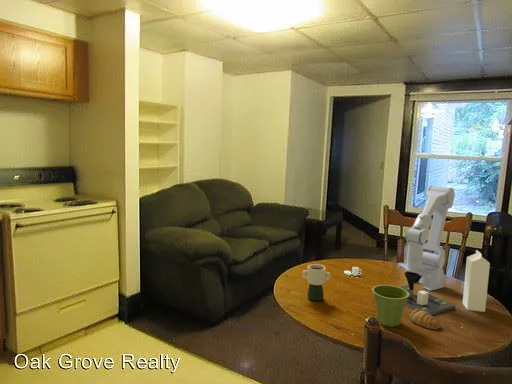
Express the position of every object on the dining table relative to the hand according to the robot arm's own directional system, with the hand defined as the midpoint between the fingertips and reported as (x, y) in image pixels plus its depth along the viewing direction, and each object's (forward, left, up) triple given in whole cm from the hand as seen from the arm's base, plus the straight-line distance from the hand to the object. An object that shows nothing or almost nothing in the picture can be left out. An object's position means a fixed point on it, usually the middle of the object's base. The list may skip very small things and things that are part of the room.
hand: (412, 289), depth 148 cm
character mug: (+38, -15, -3) cm, 41 cm away
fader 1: (0, +3, -1) cm, 3 cm away
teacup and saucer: (+4, -31, -3) cm, 31 cm away
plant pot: (+27, +12, -3) cm, 30 cm away
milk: (-12, +18, -3) cm, 22 cm away
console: (+2, +4, -2) cm, 6 cm away
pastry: (+16, +18, -3) cm, 24 cm away
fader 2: (+6, +9, -1) cm, 11 cm away
